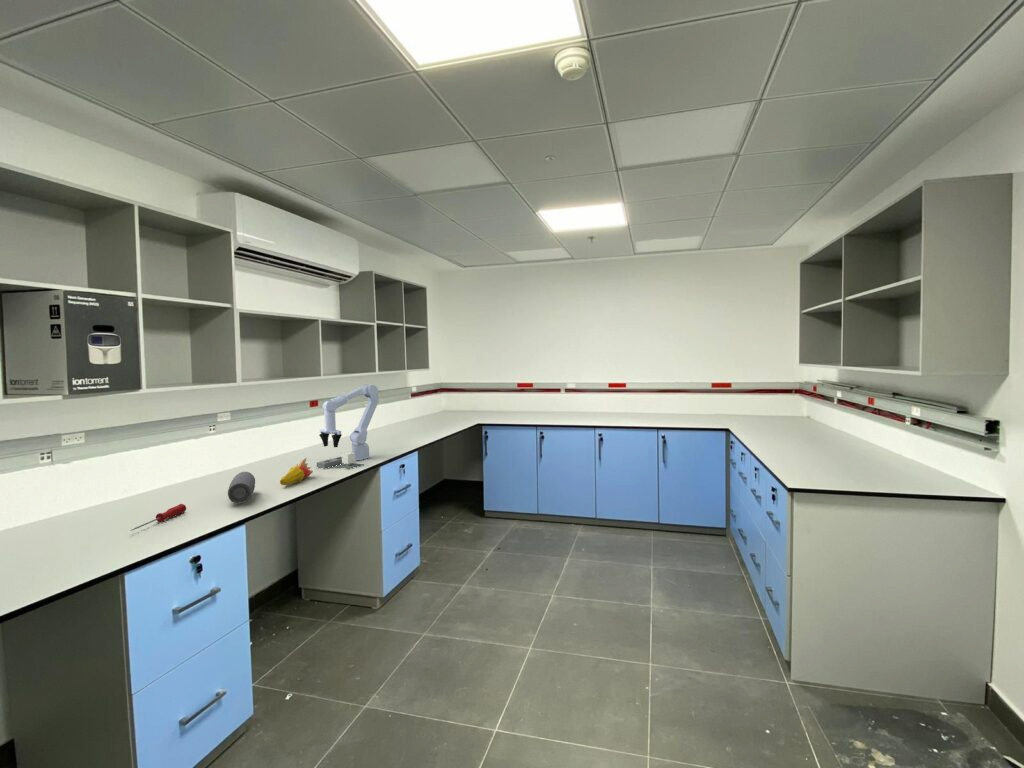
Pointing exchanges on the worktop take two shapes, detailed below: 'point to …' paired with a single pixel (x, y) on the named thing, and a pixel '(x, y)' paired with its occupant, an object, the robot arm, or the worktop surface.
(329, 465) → the power strip
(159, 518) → the screwdriver
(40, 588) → the worktop surface
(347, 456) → the block
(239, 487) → the bluetooth speaker
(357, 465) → the mat
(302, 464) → the torch
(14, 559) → the worktop surface
